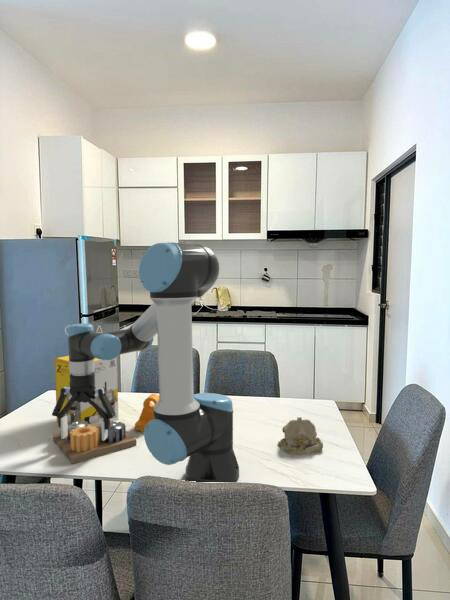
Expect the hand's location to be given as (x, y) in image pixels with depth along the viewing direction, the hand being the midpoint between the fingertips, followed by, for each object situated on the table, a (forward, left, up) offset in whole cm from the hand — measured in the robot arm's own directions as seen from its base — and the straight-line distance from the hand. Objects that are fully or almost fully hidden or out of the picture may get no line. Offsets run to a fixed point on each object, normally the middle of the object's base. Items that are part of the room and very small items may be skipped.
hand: (84, 438), depth 128 cm
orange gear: (0, 0, -3) cm, 3 cm away
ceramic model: (-40, -57, -5) cm, 70 cm away
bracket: (+4, -26, -5) cm, 26 cm away
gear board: (+5, -5, -5) cm, 8 cm away
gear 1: (+10, 0, -3) cm, 10 cm away
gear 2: (0, -9, -2) cm, 10 cm away
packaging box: (+26, -10, -5) cm, 28 cm away
